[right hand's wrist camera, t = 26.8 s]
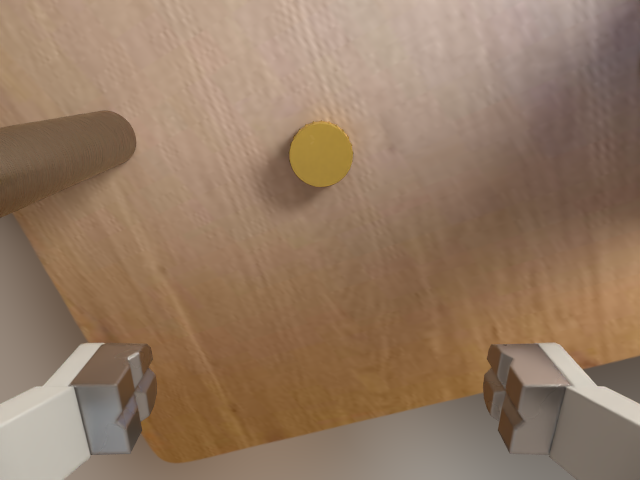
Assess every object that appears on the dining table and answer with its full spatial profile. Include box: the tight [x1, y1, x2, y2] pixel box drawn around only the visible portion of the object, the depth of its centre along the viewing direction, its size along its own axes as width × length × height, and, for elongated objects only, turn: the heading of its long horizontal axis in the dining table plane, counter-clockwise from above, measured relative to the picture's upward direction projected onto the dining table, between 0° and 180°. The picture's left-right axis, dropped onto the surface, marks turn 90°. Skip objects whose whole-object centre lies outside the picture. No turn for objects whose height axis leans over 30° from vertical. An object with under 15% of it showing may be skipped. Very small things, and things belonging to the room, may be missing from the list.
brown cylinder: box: [0, 111, 136, 218], centre depth 29 cm, size 5×5×19 cm
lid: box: [289, 120, 353, 187], centre depth 38 cm, size 6×6×2 cm
